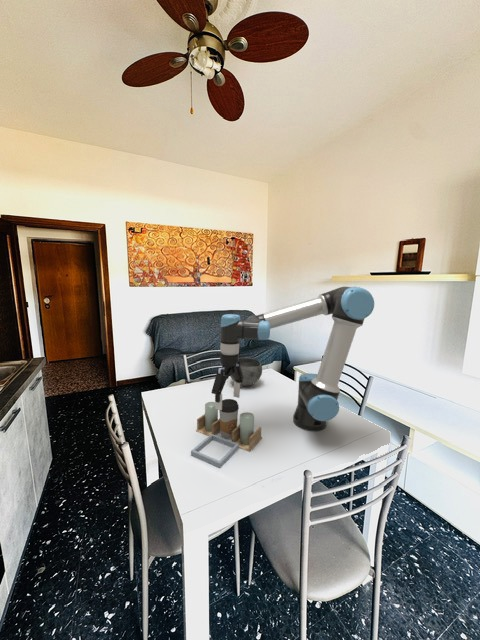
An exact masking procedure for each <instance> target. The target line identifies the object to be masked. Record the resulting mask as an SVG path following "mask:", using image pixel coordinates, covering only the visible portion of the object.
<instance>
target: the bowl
mask: <svg viewBox="0 0 480 640" xmlns="http://www.w3.org/2000/svg"><path fill="white" fill-rule="evenodd" d="M239 361H240V367H241V371H242V375H243V382H242V383H241V382H240V386H242V387H243V386H244V387H248V386H252V385H254V384H256V383H257V382H258V381H259V380H260V378H261V377H262V373H263V365H262V363H261V361H260V360H258V359H257V358H254V357H253V358H252V357H239ZM229 377H230V379H231V380H232V381H233V383H234V382H236V381H235V380H234V378H233V376H232V375H230V376H229Z"/></svg>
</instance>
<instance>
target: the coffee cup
mask: <svg viewBox="0 0 480 640" xmlns="http://www.w3.org/2000/svg"><path fill="white" fill-rule="evenodd" d="M239 409H240V408H239V404H238V401H237V400H236V399H232V398H225V399H222V410H218V414H219V419H220V430H221V431H220V437H222V438H224V439H227V440H232V431H233V430H234V429H235V428H236V427H237V426H238V415H239Z"/></svg>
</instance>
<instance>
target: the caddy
mask: <svg viewBox="0 0 480 640" xmlns="http://www.w3.org/2000/svg"><path fill="white" fill-rule="evenodd" d="M195 432H196V433H199V434H202V435H205V436H206V437H209V436H210V435H211V434H214V435H216V436H217V434H218V433H221V430H220V418H218V420H217V421H216V422H214V423H213V424H212V432H208V431H206V430H205V413H204V414H203V415H201V416H200V417H198V418H197V419H196V430H195ZM262 439H263V437H262V426H259V427H258V428H257V429H256V430H255V431H254V433H253V434H252V435H251V436H250V437H249V445H242V444H241V443H240V424H238V425H237V427H236V428H235V429H234V430H233V431H232V439H231V441H232V442H235V443H237V444H239V449H240V450H244V451H246V452H248V453H251V451H253V449H254V448H255V447H256V446H257V444H258V443H259V442H260V441H261V440H262Z"/></svg>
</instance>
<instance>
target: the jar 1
mask: <svg viewBox="0 0 480 640" xmlns="http://www.w3.org/2000/svg"><path fill="white" fill-rule="evenodd" d="M204 414H205V430H206V431H208V432H212V424H213V423H214V422H216V421H217V420H218V419H219V410H218V409H215V401H209V402H206V403H205V404H204Z"/></svg>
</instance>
